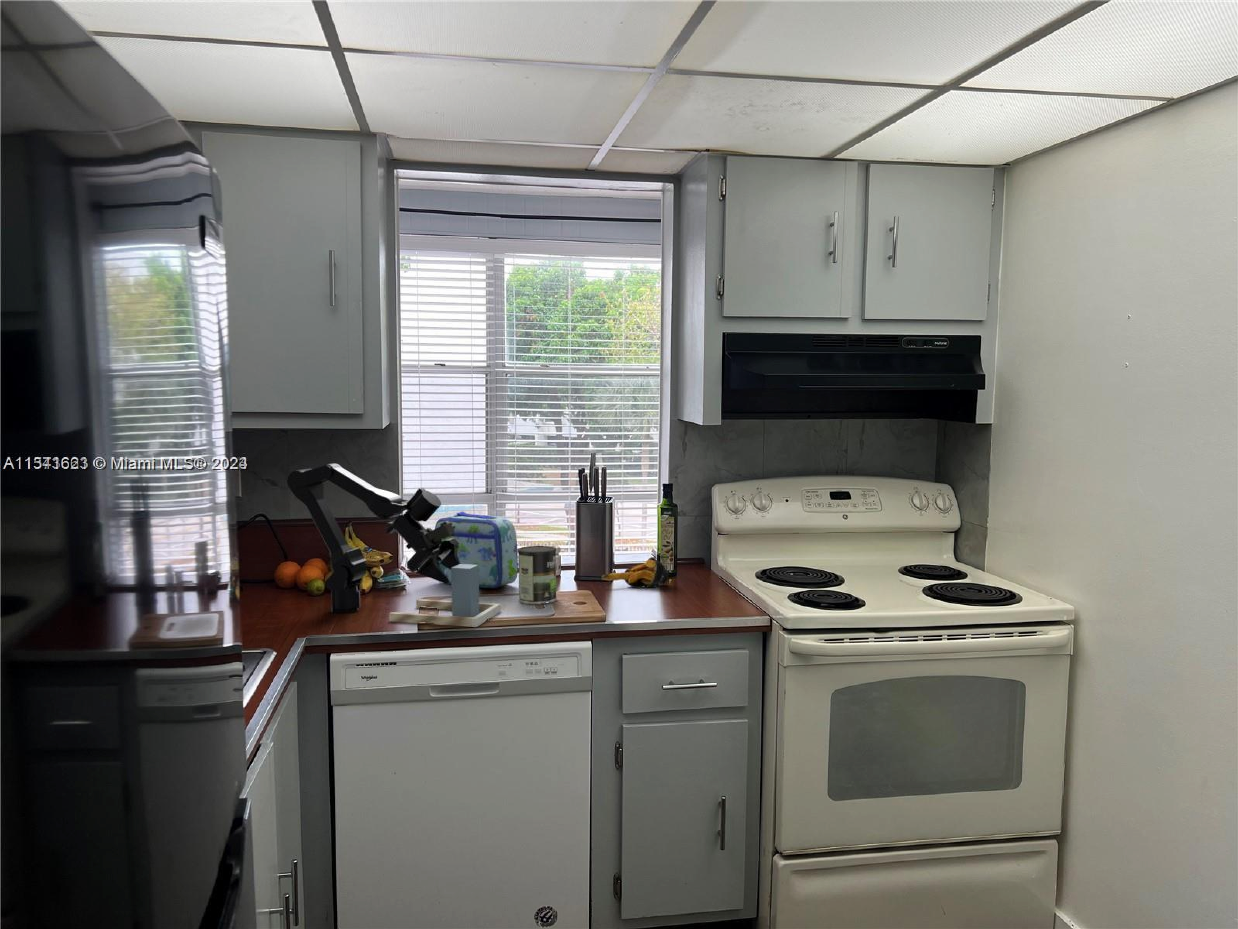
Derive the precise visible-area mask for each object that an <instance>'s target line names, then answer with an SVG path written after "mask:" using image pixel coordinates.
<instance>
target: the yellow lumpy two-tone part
mask: <svg viewBox="0 0 1238 929" xmlns="http://www.w3.org/2000/svg"><path fill="white" fill-rule="evenodd" d="M669 575H670V574H669V570H667V569H666V567H665V565H664V564H663V563H662V562H661V561H659V560H657V559H656V558H655V557H654V556H651V557H649V558H648V559H647V560H646V561H645V562H644V563H641V564H636V565H633V566H630V567H628V568H627V569H625V571H624V572H611V573H605V574H602V576H601V580H603V581H604V580H605V581H620V580H623V581H624V582H625V583H626V584H627V585H628V586H629V587H632V588H638V589H639V588H651V587H658V586H660V585H661V584H666V583H667V581H668V579H669Z"/></svg>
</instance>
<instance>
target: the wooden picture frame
mask: <svg viewBox="0 0 1238 929" xmlns="http://www.w3.org/2000/svg"><path fill="white" fill-rule="evenodd" d="M501 604H502V603H492V602H491V603H489V602H479V614H478V615H477V616H475V617H461V616H452V615H439V614H430V613H427V614H426V613H411V612H394V611H391V612H390V613H388V622H394V623H395V622H397V623H408V624H409V623H410V624H411V623H412V624H420V623H419V622H425V623H434V624H433V625H441V626H455V627H470V628H471V627H473V628H477V627H479V626H480V625H482V624H484V623H486V622H487V621H488V620H490V619H491V617H492V618H493V617H495V616H496V615H498V614H499V613H501V612H502V606H501ZM415 606H416V607H415V608H417V609H421V608H420V607H421V606H426V607H434V608H437V609H436V610H446V609H448V610H449V611H452V600H441V599H440V600H439V599H424V598H423V599H422V598H421V599H420V598H418V599H416V601H415ZM489 618H490V619H489ZM487 619H488V620H487ZM486 620H487V621H486Z"/></svg>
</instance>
